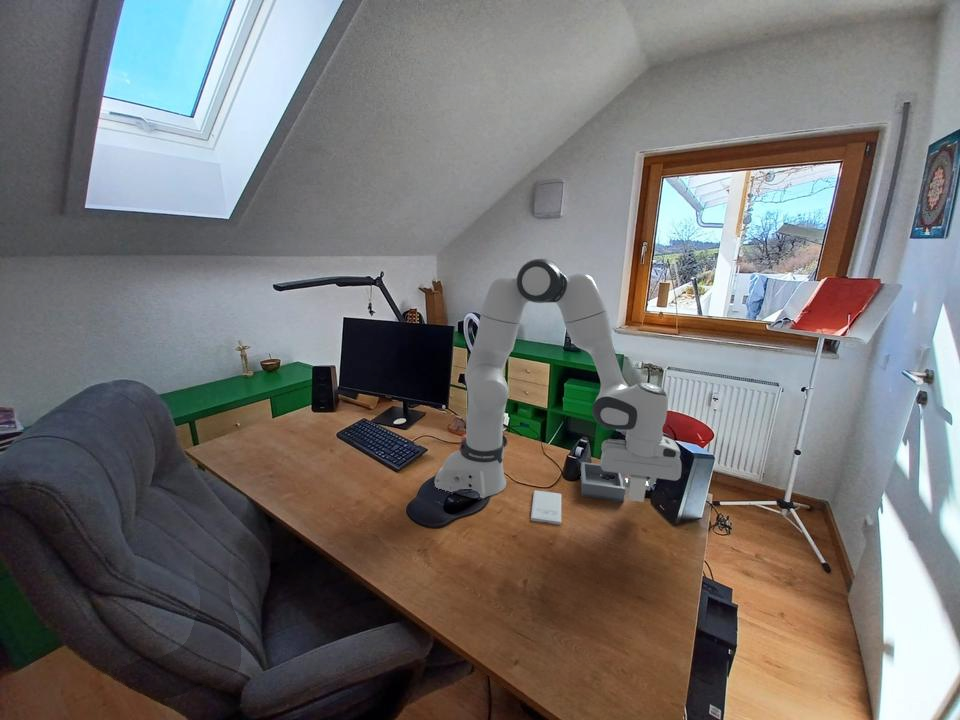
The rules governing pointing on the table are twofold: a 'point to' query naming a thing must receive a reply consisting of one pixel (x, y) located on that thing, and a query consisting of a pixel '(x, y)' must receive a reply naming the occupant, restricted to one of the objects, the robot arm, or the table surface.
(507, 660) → the table surface
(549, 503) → the external hard drive
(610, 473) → the bin
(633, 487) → the cream block
